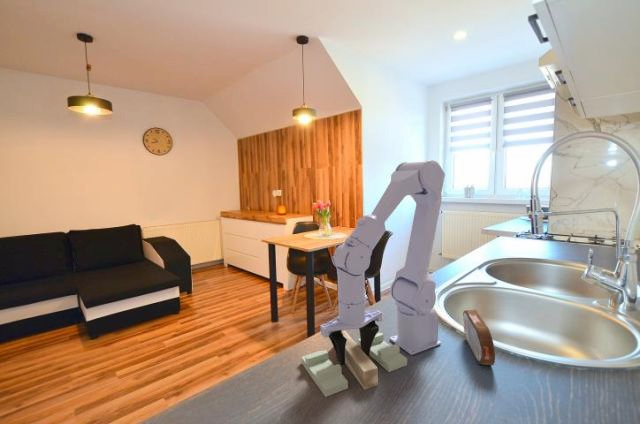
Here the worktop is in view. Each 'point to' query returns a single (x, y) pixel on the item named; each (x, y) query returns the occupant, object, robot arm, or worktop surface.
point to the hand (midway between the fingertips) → (353, 358)
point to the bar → (360, 364)
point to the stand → (331, 375)
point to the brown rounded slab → (479, 337)
